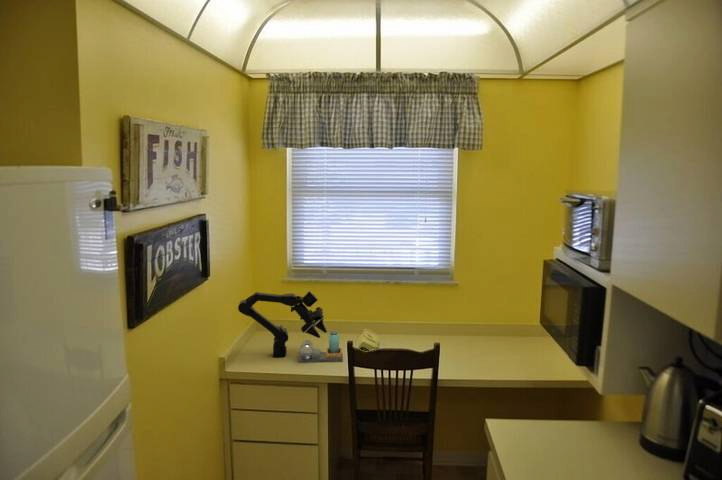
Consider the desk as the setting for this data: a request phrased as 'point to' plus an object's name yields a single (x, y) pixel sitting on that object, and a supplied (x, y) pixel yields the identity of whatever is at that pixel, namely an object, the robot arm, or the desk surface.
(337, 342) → the teal cylinder grey dome
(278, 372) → the desk surface
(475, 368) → the desk surface
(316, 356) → the motor assembly
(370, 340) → the plastic component
